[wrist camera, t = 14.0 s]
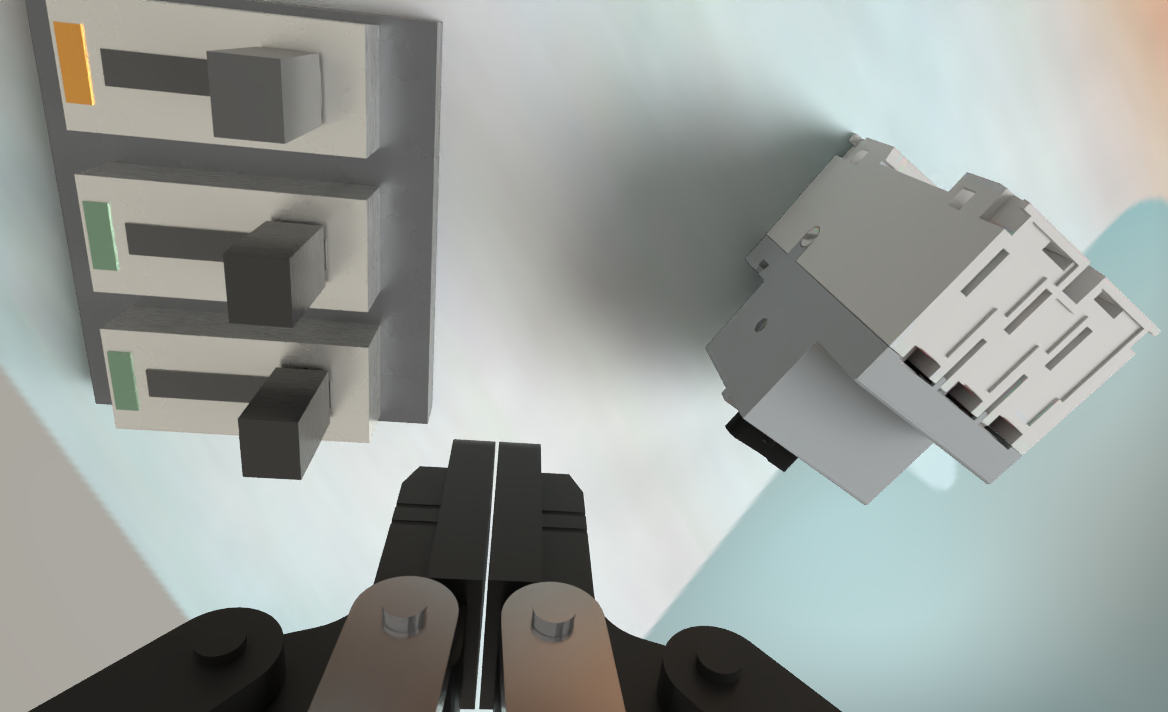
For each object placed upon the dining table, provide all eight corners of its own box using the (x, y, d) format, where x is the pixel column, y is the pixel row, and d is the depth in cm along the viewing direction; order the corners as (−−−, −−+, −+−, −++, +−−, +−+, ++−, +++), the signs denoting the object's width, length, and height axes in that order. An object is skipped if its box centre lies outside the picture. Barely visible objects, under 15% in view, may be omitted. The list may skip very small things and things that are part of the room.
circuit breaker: (671, 343, 42) (737, 499, 28) (854, 133, 38) (1036, 196, 24) (767, 413, 44) (872, 589, 30) (950, 221, 40) (1167, 325, 26)
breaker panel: (49, -23, 33) (-145, -41, 23) (442, 21, 34) (408, 21, 25) (115, 386, 41) (-10, 495, 31) (432, 406, 42) (403, 515, 33)
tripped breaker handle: (256, 46, 30) (205, 50, 25) (319, 53, 30) (280, 58, 25) (261, 119, 31) (213, 137, 26) (321, 126, 31) (284, 143, 26)
